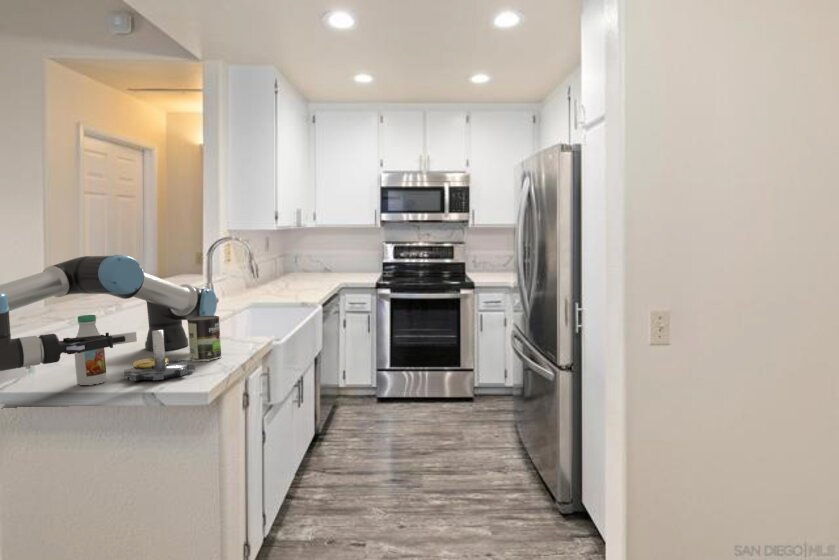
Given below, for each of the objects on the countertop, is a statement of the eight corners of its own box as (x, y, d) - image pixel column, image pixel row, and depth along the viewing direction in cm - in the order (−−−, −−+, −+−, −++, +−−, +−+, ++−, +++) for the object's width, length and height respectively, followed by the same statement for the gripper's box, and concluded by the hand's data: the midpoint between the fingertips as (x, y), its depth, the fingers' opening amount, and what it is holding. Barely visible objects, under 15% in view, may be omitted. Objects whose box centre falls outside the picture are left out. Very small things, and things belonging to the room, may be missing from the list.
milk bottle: (75, 387, 169) (69, 318, 167) (78, 381, 176) (73, 315, 174) (106, 384, 172) (100, 316, 170) (108, 378, 179) (102, 312, 177)
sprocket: (162, 363, 193) (159, 321, 192) (208, 367, 185) (205, 323, 184) (109, 378, 176) (105, 331, 174) (157, 383, 167) (153, 334, 166)
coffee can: (227, 355, 207) (225, 315, 206) (211, 362, 197) (208, 320, 196) (200, 354, 209) (198, 315, 208) (183, 361, 199) (180, 320, 198)
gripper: (34, 361, 157) (127, 346, 173) (48, 368, 148) (145, 352, 164) (31, 333, 156) (126, 321, 173) (45, 338, 147) (143, 325, 164)
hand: (135, 336), depth 169 cm, fingers closed
